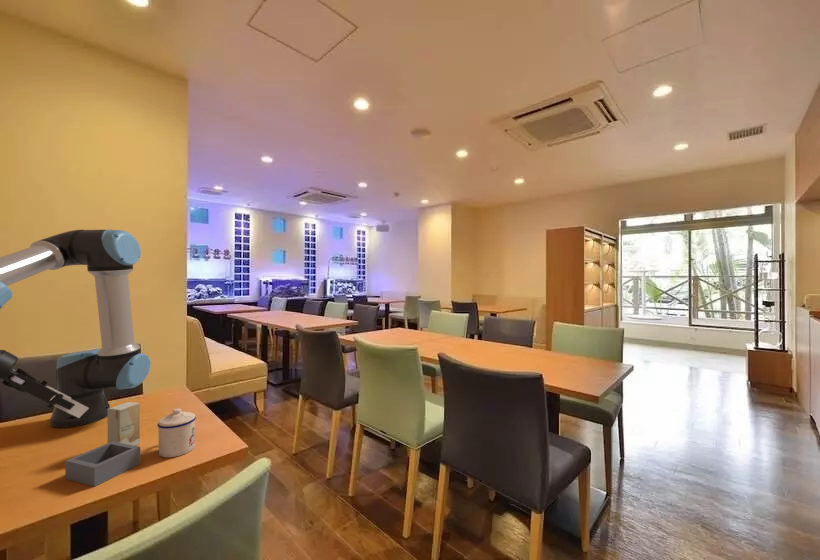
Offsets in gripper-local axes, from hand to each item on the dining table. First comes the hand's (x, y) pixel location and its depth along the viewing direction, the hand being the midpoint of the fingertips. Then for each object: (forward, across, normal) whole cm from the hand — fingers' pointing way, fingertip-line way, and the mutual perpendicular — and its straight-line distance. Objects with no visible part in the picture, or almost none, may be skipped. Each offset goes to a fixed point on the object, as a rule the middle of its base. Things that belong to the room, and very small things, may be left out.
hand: (74, 407), depth 92 cm
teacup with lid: (+24, +13, +2) cm, 27 cm away
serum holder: (+13, +10, -9) cm, 18 cm away
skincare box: (+18, 0, -4) cm, 19 cm away
